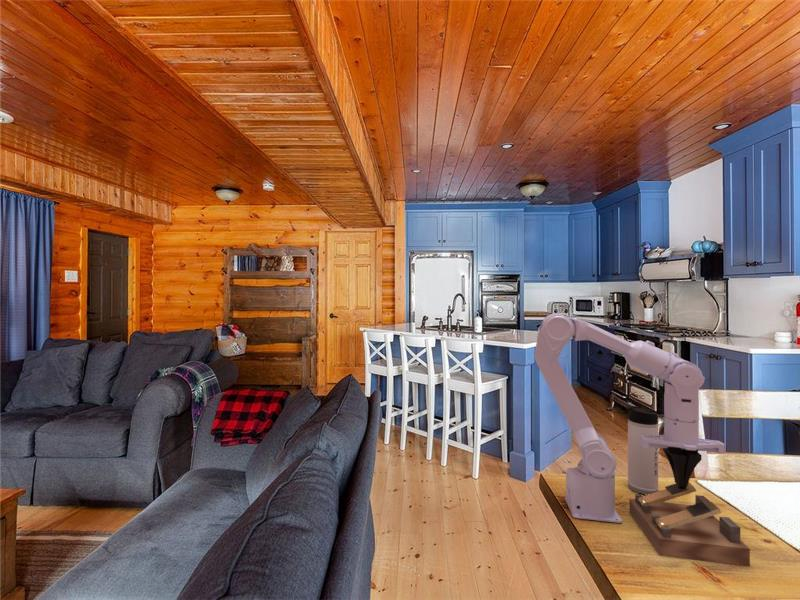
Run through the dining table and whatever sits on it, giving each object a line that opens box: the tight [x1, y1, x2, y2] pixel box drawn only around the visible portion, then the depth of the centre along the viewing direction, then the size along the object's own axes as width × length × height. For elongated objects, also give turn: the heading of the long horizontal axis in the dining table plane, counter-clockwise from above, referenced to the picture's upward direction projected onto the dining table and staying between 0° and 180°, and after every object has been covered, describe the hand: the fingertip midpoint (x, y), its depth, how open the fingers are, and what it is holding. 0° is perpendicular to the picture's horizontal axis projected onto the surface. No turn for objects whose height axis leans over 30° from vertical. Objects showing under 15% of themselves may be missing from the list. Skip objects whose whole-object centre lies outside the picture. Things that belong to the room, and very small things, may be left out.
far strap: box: [638, 482, 697, 506], centre depth 78 cm, size 11×3×1 cm, turn 78°
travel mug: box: [626, 405, 659, 495], centre depth 93 cm, size 6×7×20 cm
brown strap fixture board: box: [628, 493, 751, 567], centre depth 74 cm, size 14×14×6 cm
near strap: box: [655, 501, 722, 529], centre depth 70 cm, size 10×3×1 cm, turn 78°
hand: (680, 484), depth 78 cm, fingers closed
